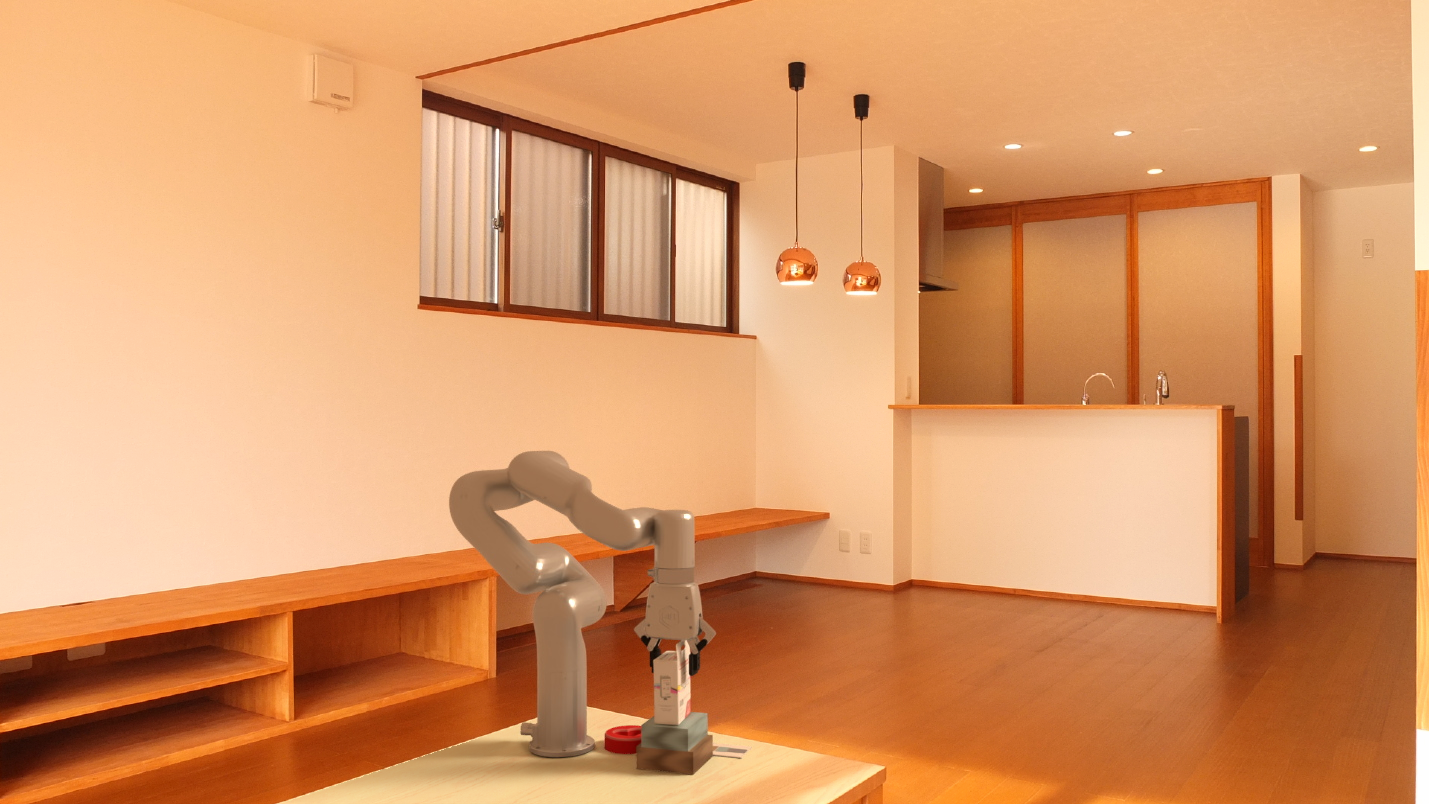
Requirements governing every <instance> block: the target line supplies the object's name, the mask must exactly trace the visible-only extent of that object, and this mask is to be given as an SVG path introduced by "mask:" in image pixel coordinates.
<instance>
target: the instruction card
mask: <svg viewBox="0 0 1429 804" xmlns="http://www.w3.org/2000/svg"><path fill="white" fill-rule="evenodd" d="M751 749H752V746H751V745H750V746H749V745H741V744H739V745H738V744H729V743H720V742H719V743H717V742H713V756H715V757H724V758H734V759H742V758H743V757H744V756H745V755H747V753H748V752H750V750H751Z"/></svg>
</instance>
